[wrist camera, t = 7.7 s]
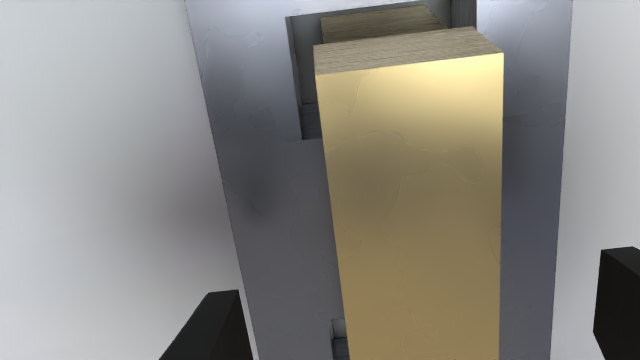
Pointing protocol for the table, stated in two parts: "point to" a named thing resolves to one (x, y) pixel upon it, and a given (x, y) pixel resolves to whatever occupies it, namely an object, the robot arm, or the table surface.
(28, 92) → the table surface
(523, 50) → the rail
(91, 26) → the table surface
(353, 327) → the wooden bridge block
